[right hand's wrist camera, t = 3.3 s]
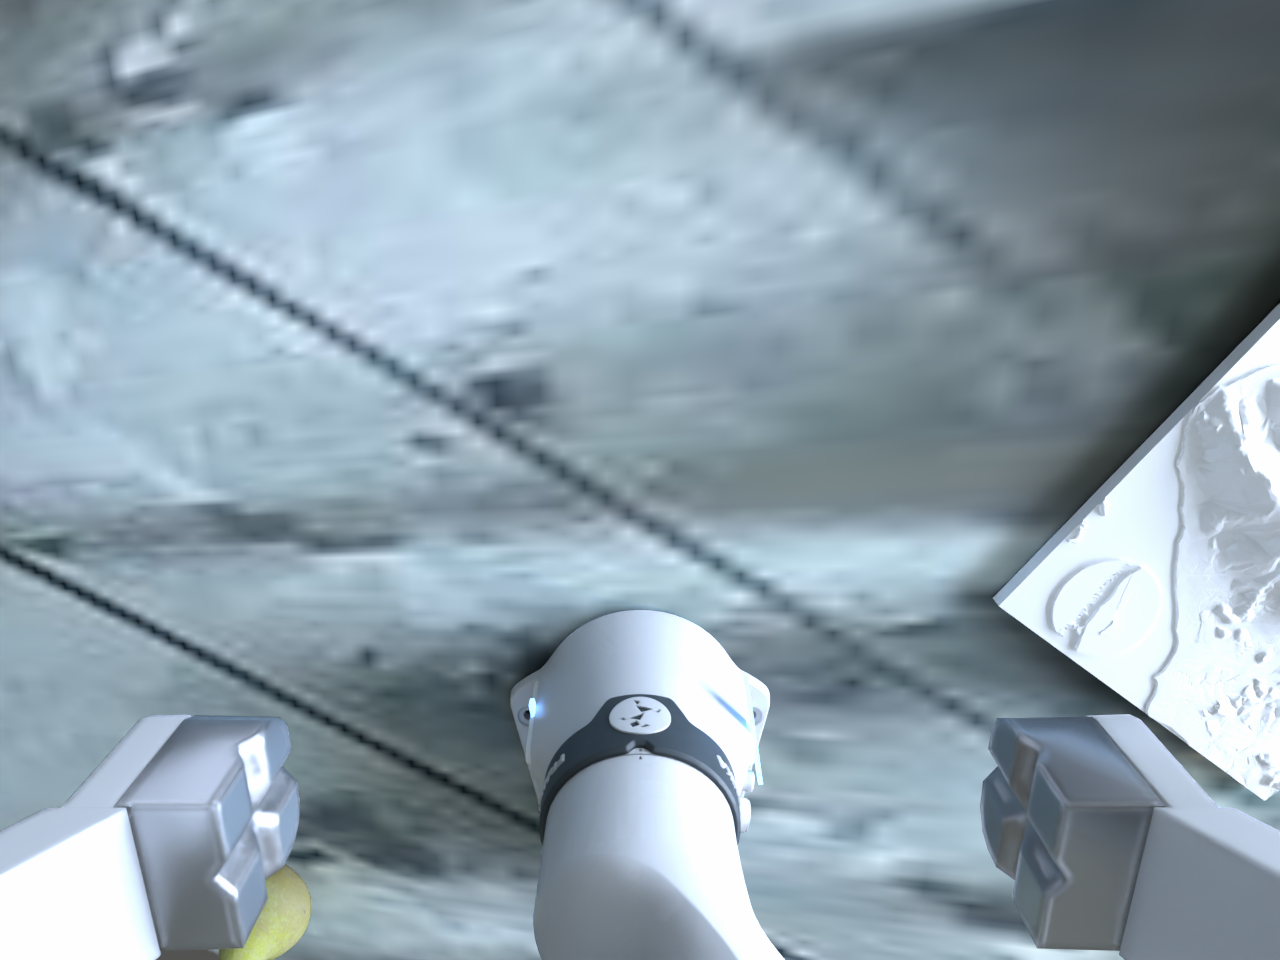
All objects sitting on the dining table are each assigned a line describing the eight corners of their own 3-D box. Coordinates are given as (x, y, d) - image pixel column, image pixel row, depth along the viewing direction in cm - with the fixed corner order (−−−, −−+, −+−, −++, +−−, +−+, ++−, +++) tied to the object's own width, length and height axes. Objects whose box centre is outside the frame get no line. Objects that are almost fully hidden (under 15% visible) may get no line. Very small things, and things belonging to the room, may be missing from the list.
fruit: (295, 831, 70) (229, 961, 59) (342, 900, 72) (287, 1039, 61) (221, 857, 71) (141, 990, 60) (269, 925, 73) (202, 1066, 62)
